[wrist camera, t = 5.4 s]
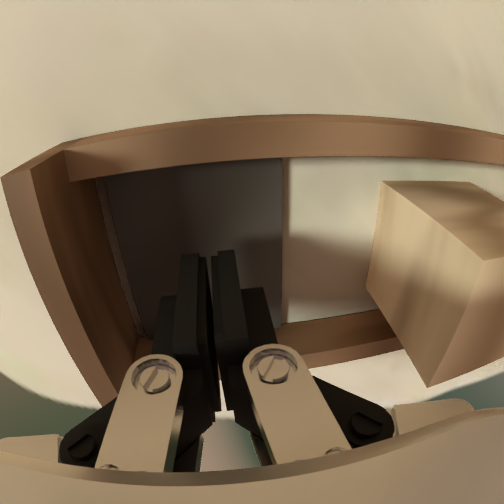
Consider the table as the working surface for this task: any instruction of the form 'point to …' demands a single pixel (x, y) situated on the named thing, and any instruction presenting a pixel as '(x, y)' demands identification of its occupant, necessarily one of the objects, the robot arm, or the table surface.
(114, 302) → the channel
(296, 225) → the table surface
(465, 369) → the block
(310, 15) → the table surface
